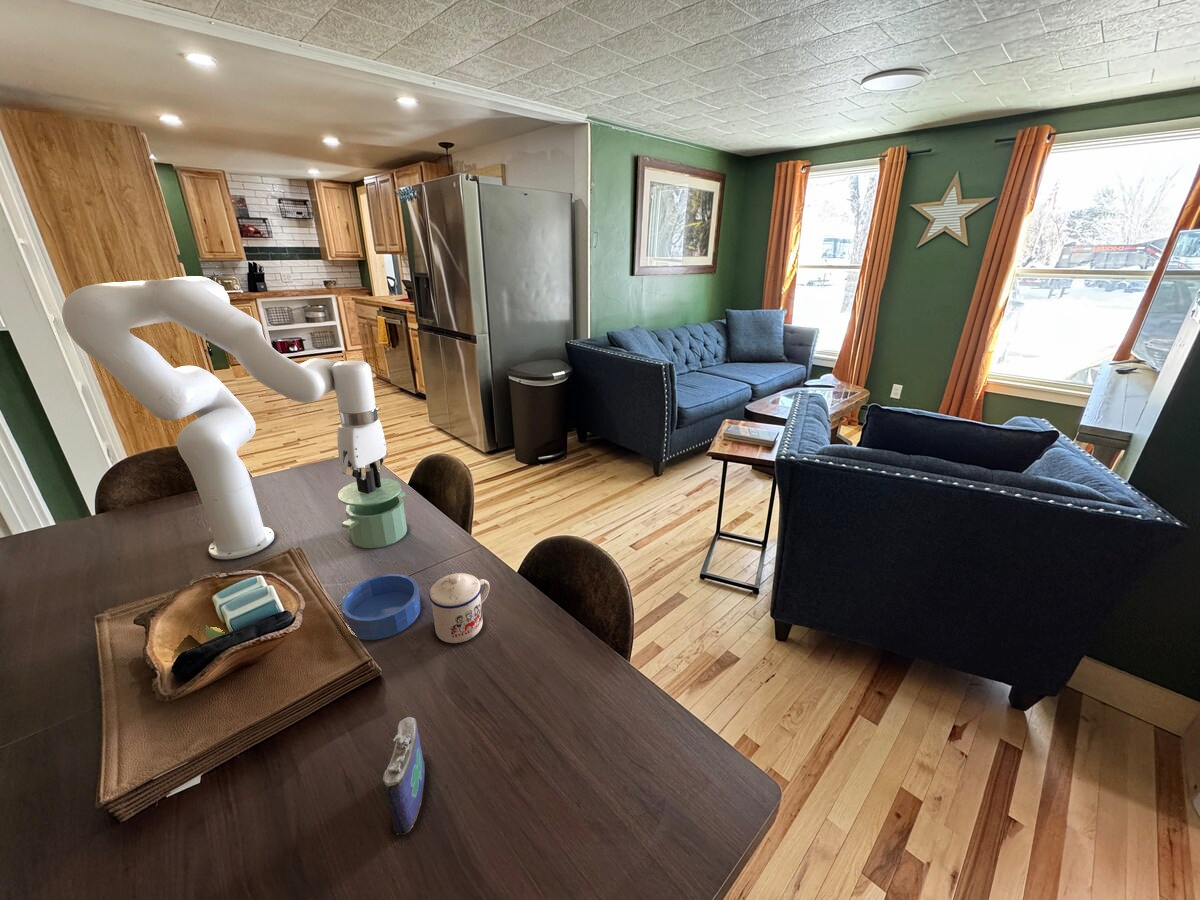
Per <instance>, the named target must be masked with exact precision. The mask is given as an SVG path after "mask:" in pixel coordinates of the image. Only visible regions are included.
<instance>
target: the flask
mask: <svg viewBox="0 0 1200 900" xmlns="http://www.w3.org/2000/svg"><path fill="white" fill-rule="evenodd" d="M418 729H419V728H418V722H417V720H416V718H414V717H412V716H407V717H405V718H403V719H402V720H400V721H399V722H398V724H397V726H396V735H395V736H394V738H393V739H392V741H393V742H395V743H394V747H393V752H392V755H391V758H390V761H389V764H387V767H386V769H385V770H384V774H383V775H382V788H383V791H384V795H385V797H386V801H387V806H388V809H389V813H390V815H391V816H390V817H391V821H392V825H393V830H394V832H395V833H396V836H398V835H406V834H408V833H409V832H410V831H411V829H413V828H414V825H415V822H416V821H417V818H418V815H419V812H420V809H421V805H422V803H423V802H422V801H423V797H424V787H425V786H424V785H425V779H426V778H425V777H426V774H425V773H426V770H425V768H426V767H425V761H424V757H423V751H422V745H421V740H420V734H419V730H418Z"/></svg>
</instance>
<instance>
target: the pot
mask: <svg viewBox="0 0 1200 900" xmlns="http://www.w3.org/2000/svg"><path fill="white" fill-rule="evenodd" d="M406 495H407V494H406V491H403V490H401V491H400V493H399V494H398V495H397V496H396V497H394V498H392V499H390V500H388V501H385V502H382V503H379V504H375V505H368V506H352V505H347V504H346V506H345V515H346V520H345V521H342V522H341V523H340V524H341V528H343V529H348V530H349V532H350V533H349V535H350V539H351V541H352V544H353V545H355V546H357V547H359V548H363V549H377V548H383V547H387V546H390V545H393V544H395V543H397V542H398V541H400V540H401V539H403V538H404V537H405V536H406V534H407V532H408V526H407V518H406V512H405V505H404V500H403V498H404V497H405V496H406Z"/></svg>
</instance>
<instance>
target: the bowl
mask: <svg viewBox="0 0 1200 900" xmlns="http://www.w3.org/2000/svg"><path fill="white" fill-rule="evenodd" d="M340 607H341V612H342V617H343V621H344V620H345V621H344V623H345V622H346V623H347V624H348V625H349V627H350V628H351V630H352V631H353V632H354V633H355V635H356V636H357V638H356V639H358V640H359V639H360V640H364V641H375V640H382V639H386V638H390V637H393V636H395V635H397V634H399V633H400V632H402V631H404V630H406V629H407V628H409V627H410V626H411V625H412V624H413V623H414V622H415V621H416V620H417V618H418V616H419V615H420V613H421V609H422V608H421V607H422V605H421V596H420V589H419V586H418V583H417V582H416V580H414V578H412V577H410V576H409V575H405V574H400V573H387V574H380V575H376V576H373V577H370V578H367V579H365V580H363V581H361V582H359V583H357V584H356V585H354V586H353V587H352V588H350V589H349V590H348V591H347V593H346V594H345V595H344V596H343V598H342V601H341V603H340Z"/></svg>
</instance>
